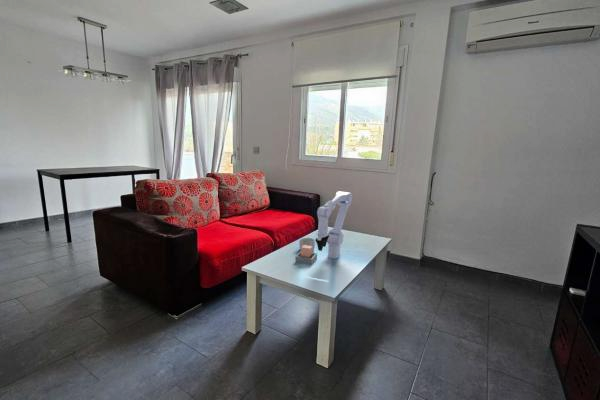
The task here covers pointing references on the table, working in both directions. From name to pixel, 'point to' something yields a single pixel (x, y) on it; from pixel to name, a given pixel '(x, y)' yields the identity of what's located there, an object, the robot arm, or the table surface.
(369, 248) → the table surface
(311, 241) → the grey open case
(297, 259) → the tote
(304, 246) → the coral box
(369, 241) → the table surface
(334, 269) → the table surface
